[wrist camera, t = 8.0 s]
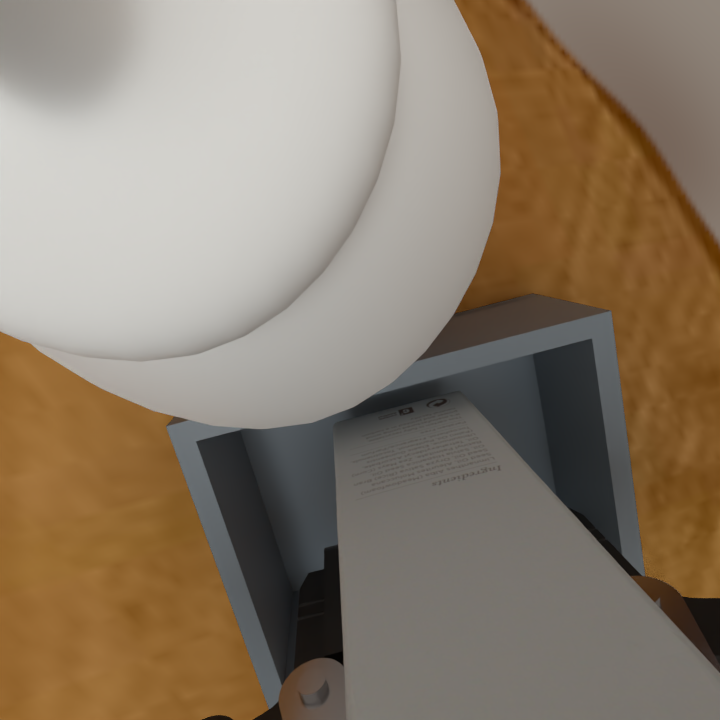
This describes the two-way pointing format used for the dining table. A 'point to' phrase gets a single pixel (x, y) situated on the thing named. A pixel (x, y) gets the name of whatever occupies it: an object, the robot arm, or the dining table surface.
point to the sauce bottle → (240, 195)
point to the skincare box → (488, 587)
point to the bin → (418, 382)
